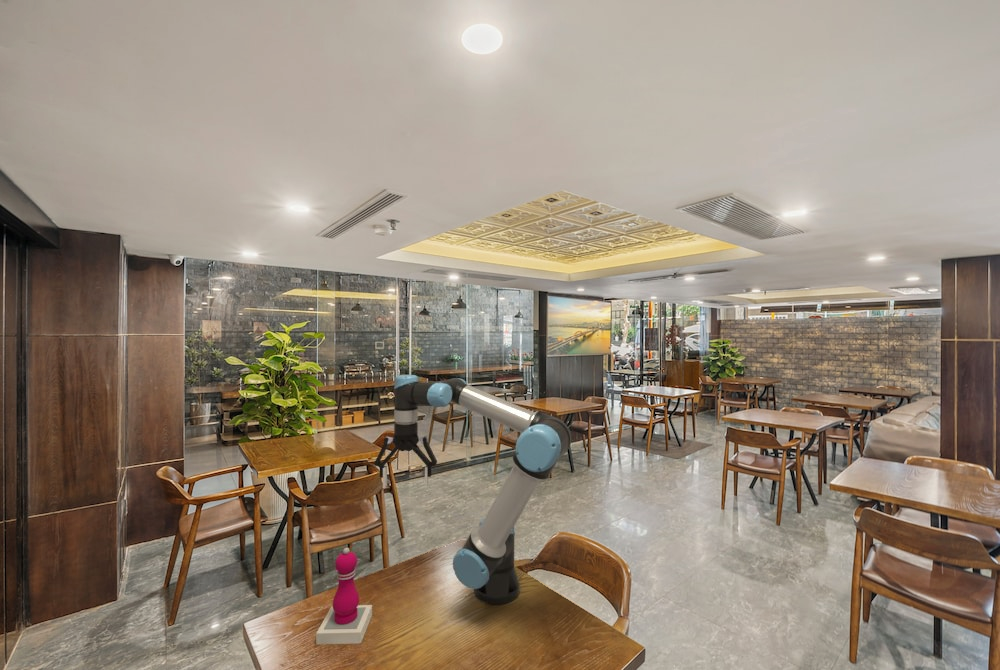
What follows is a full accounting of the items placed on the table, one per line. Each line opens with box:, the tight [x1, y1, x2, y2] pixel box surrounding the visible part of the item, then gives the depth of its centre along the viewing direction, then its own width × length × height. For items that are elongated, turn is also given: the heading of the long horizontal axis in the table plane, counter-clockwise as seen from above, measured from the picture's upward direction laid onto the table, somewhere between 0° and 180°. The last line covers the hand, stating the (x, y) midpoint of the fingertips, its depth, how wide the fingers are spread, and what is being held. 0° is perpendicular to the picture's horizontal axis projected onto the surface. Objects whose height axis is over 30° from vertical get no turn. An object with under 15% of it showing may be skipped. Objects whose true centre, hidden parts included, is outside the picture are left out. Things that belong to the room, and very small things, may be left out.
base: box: [315, 604, 373, 645], centre depth 123 cm, size 12×12×3 cm
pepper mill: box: [332, 547, 360, 625], centre depth 123 cm, size 7×7×20 cm
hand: (405, 486), depth 140 cm, fingers open, 13 cm apart
